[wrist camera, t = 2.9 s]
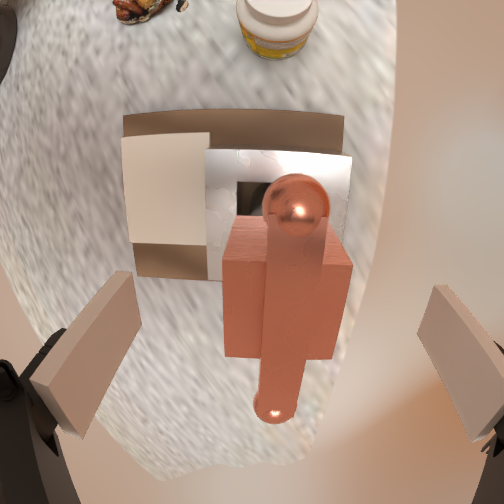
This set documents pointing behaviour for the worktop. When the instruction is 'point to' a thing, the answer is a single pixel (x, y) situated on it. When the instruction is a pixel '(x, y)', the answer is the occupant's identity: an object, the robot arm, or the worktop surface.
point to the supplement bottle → (276, 25)
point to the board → (225, 132)
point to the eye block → (265, 170)
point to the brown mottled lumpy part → (141, 9)
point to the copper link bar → (283, 288)
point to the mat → (165, 187)
